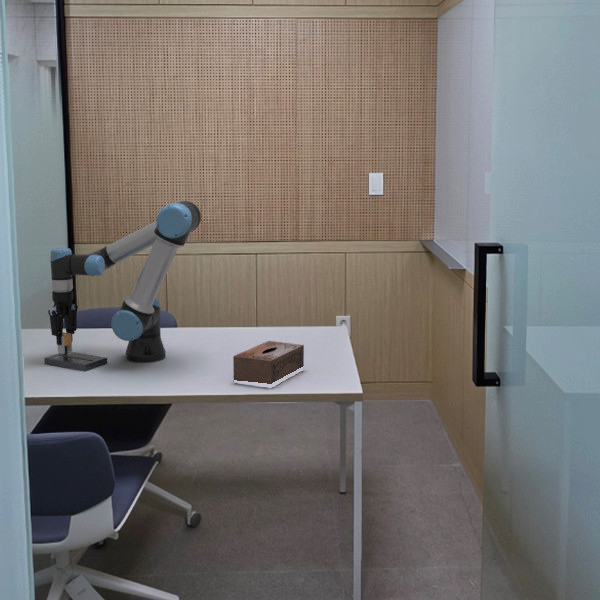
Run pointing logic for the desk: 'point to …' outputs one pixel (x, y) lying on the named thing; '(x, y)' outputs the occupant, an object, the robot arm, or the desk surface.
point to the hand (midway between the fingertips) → (65, 351)
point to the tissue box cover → (268, 362)
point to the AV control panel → (76, 361)
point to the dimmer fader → (67, 341)
